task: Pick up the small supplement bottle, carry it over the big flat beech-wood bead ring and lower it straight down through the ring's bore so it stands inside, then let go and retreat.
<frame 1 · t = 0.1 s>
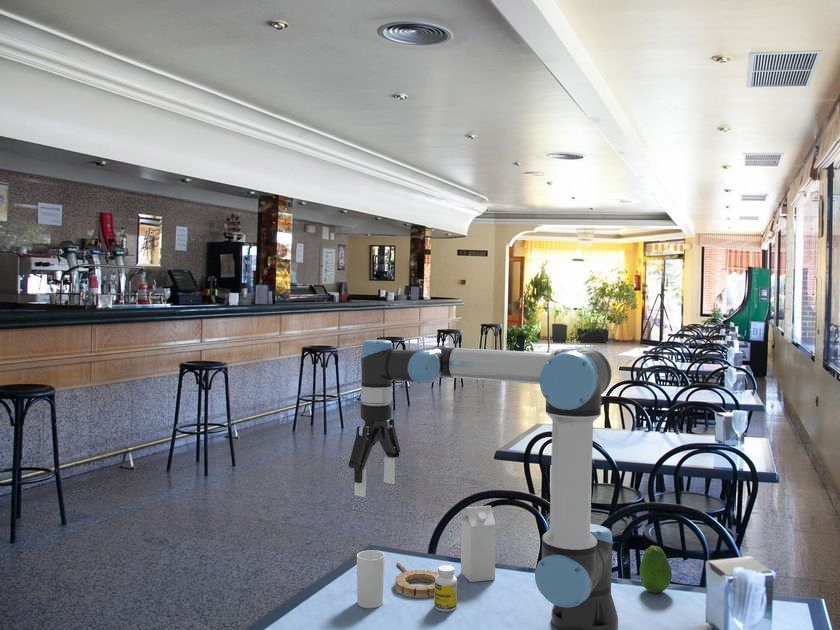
hand: (375, 489, 188), 28 cm above the table, fingers open, 13 cm apart
fruit: (655, 592, 197), on the table
milk carton: (477, 577, 206), on the table
bead ring: (420, 587, 198), on the table
mug: (371, 601, 190), on the table
brown wooden stick: (404, 571, 209), on the table
supplement bottle: (445, 608, 186), on the table
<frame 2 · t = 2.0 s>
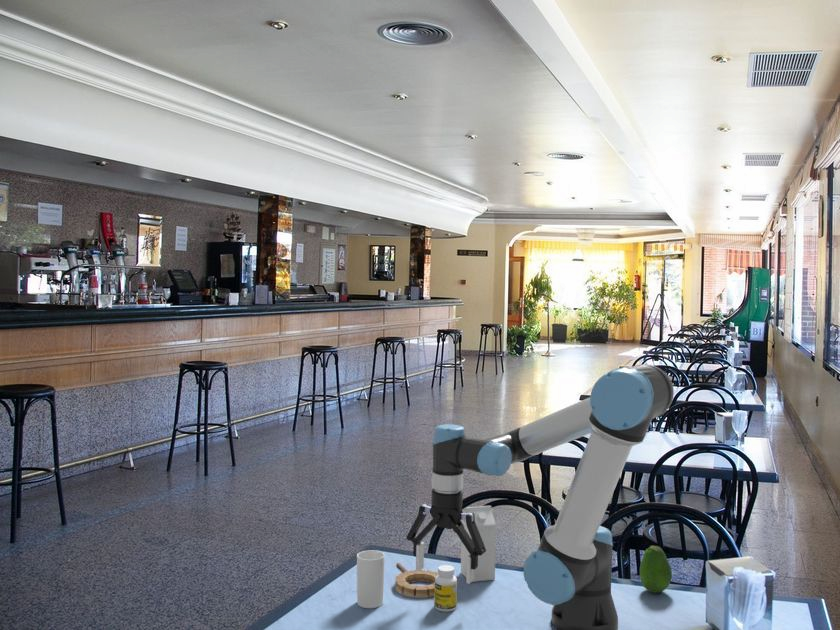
hand: (444, 575, 186), 8 cm above the table, fingers open, 13 cm apart
nothing on the table moved.
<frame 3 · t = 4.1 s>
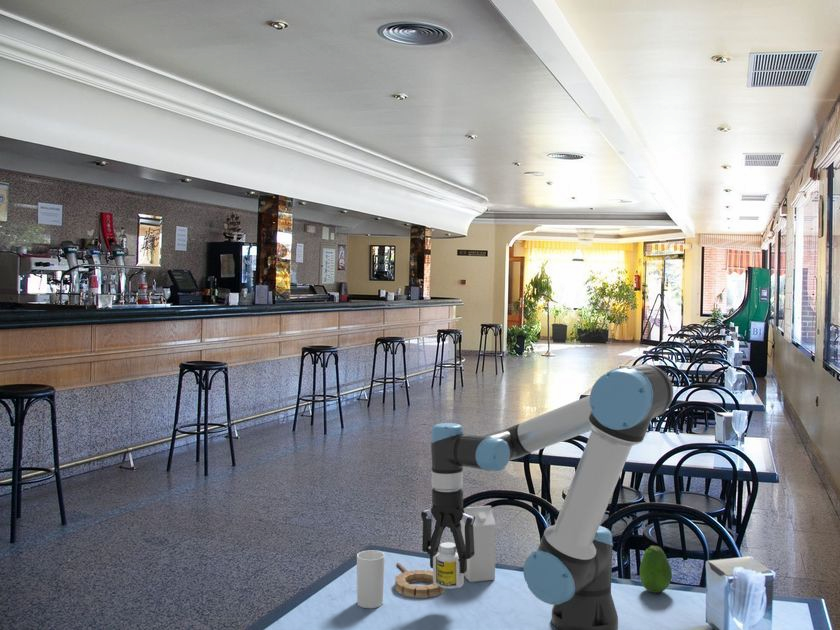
hand: (448, 583, 185), 6 cm above the table, fingers closed on supplement bottle, 5 cm apart
supplement bottle: (448, 585, 185), point 6 cm above the table, touching gripper
everything else where it was.
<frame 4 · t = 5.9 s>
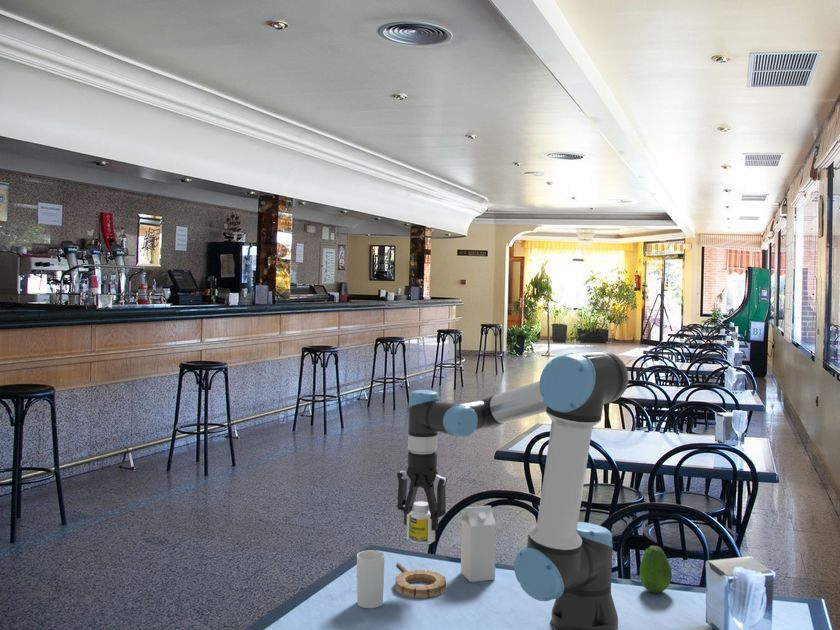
hand: (420, 539, 198), 12 cm above the table, fingers closed on supplement bottle, 5 cm apart
supplement bottle: (420, 541, 198), point 12 cm above the table, touching gripper
everything else where it was.
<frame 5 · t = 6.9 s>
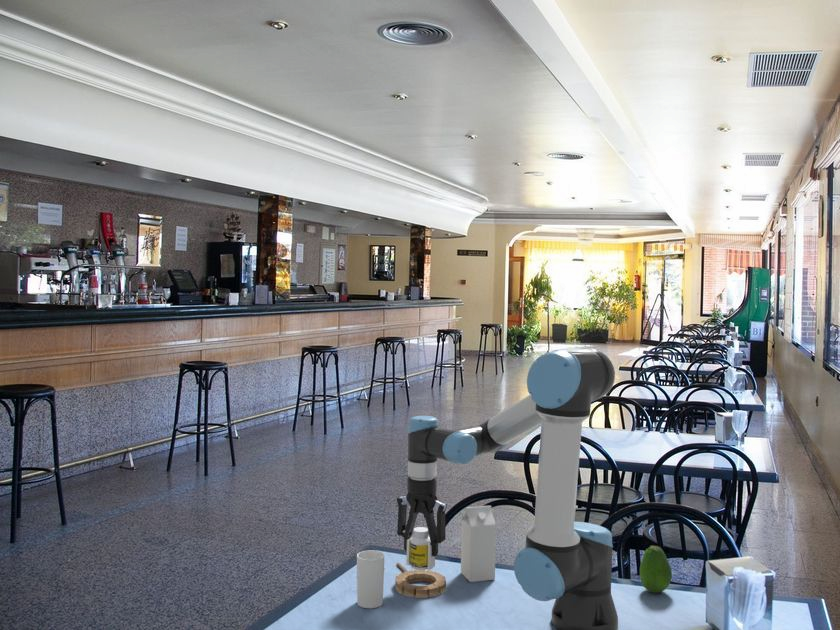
hand: (420, 565, 198), 6 cm above the table, fingers closed on supplement bottle, 5 cm apart
supplement bottle: (420, 567, 198), point 5 cm above the table, touching gripper
everything else where it was.
when the fingers open (2 cm above the table, at t = 7.8 s): supplement bottle drops 2 cm, resting in bead ring.
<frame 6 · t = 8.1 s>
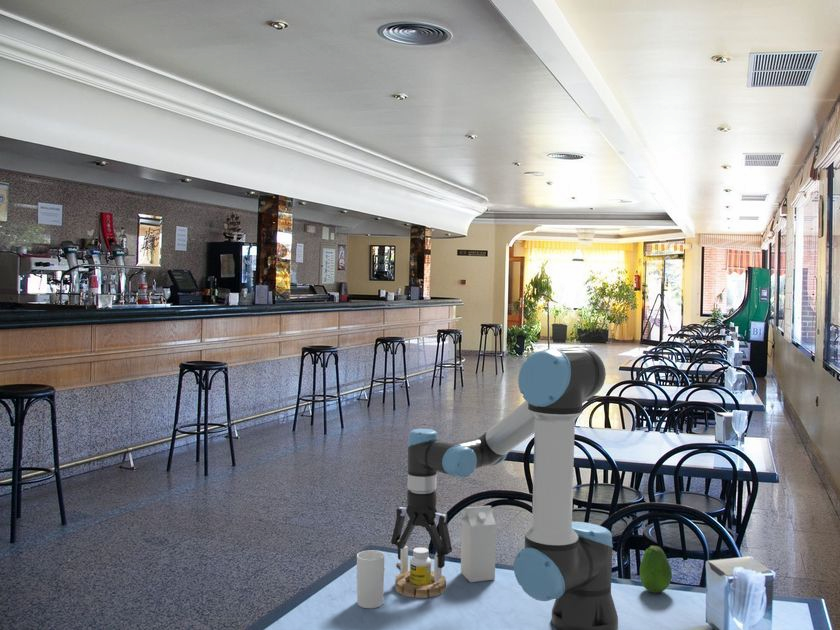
hand: (420, 575, 198), 3 cm above the table, fingers open, 9 cm apart
supplement bottle: (420, 588, 198), resting in bead ring
everything else where it was.
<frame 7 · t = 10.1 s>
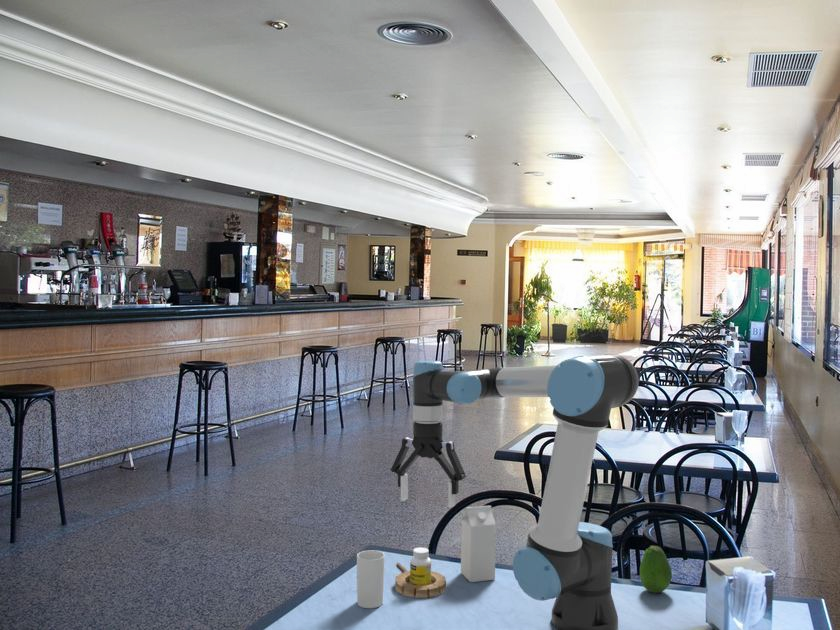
hand: (427, 503, 197), 22 cm above the table, fingers open, 13 cm apart
nothing on the table moved.
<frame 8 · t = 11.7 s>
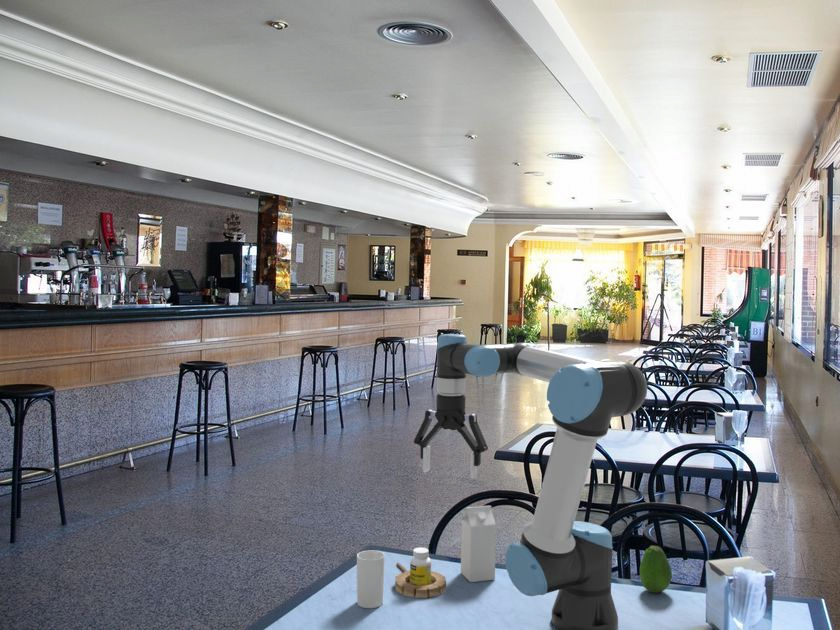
hand: (449, 474, 200), 29 cm above the table, fingers open, 13 cm apart
nothing on the table moved.
at the end: supplement bottle 0.1 cm from the bead ring (horizontally); supplement bottle tilted 0°; supplement bottle resting in bead ring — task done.
